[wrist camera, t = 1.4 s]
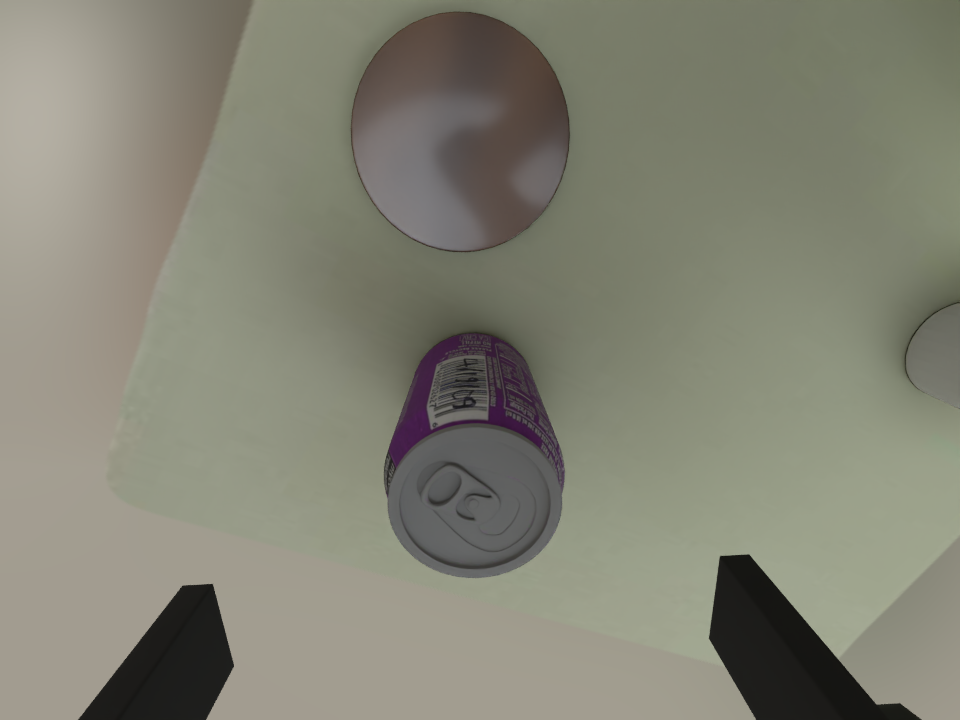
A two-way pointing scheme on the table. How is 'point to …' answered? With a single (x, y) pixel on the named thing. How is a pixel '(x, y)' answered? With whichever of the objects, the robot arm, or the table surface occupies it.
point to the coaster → (460, 131)
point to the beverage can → (474, 461)
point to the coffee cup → (937, 356)
